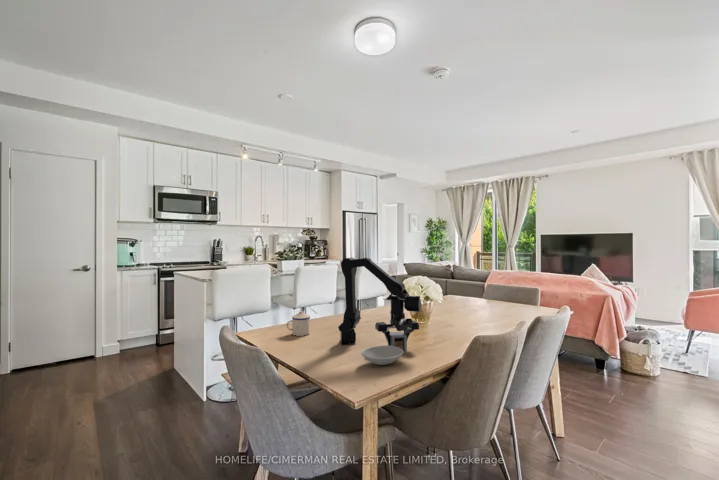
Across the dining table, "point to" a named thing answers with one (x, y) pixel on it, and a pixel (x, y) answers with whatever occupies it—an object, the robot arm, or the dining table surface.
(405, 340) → the grey cover
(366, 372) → the dining table surface
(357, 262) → the robot arm
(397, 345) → the walnut block
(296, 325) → the teacup with lid
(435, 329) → the dining table surface
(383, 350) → the dish
